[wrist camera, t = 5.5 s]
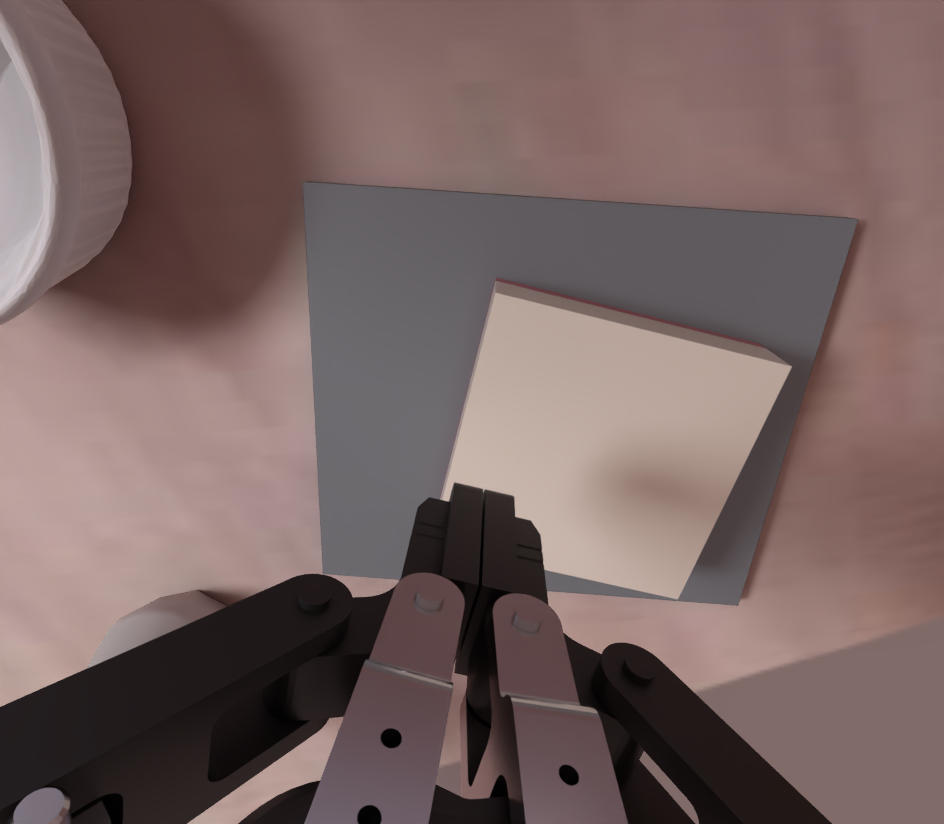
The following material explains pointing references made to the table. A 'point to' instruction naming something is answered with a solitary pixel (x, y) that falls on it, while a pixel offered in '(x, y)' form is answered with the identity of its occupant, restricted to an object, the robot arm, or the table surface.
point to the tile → (610, 431)
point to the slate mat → (462, 319)
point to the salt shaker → (154, 622)
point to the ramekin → (55, 151)
